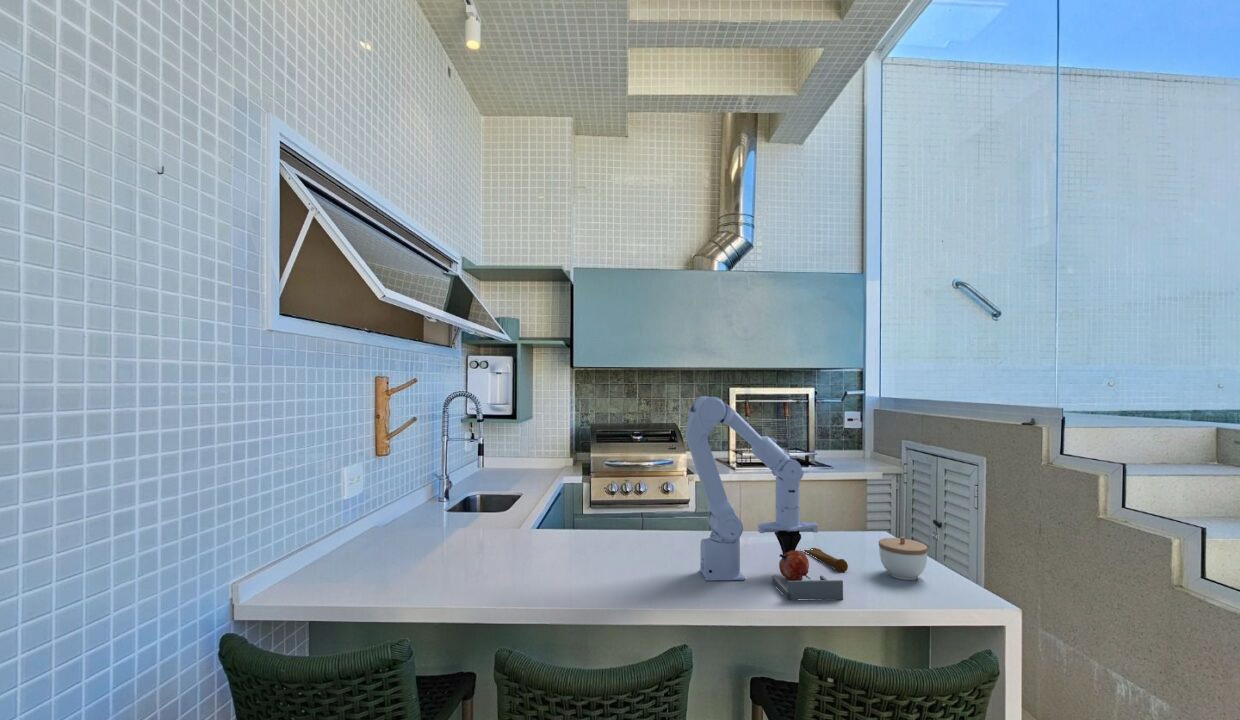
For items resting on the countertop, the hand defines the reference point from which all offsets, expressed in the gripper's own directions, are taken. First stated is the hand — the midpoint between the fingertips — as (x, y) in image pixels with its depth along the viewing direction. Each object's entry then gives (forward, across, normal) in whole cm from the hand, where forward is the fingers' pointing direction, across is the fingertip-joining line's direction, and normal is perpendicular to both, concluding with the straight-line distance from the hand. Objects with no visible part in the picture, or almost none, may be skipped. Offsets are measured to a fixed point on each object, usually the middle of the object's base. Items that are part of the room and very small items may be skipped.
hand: (787, 561), depth 137 cm
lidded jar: (+3, +28, -3) cm, 28 cm away
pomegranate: (+3, 0, -5) cm, 6 cm away
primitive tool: (+4, +13, +10) cm, 17 cm away
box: (+3, 0, -11) cm, 12 cm away
